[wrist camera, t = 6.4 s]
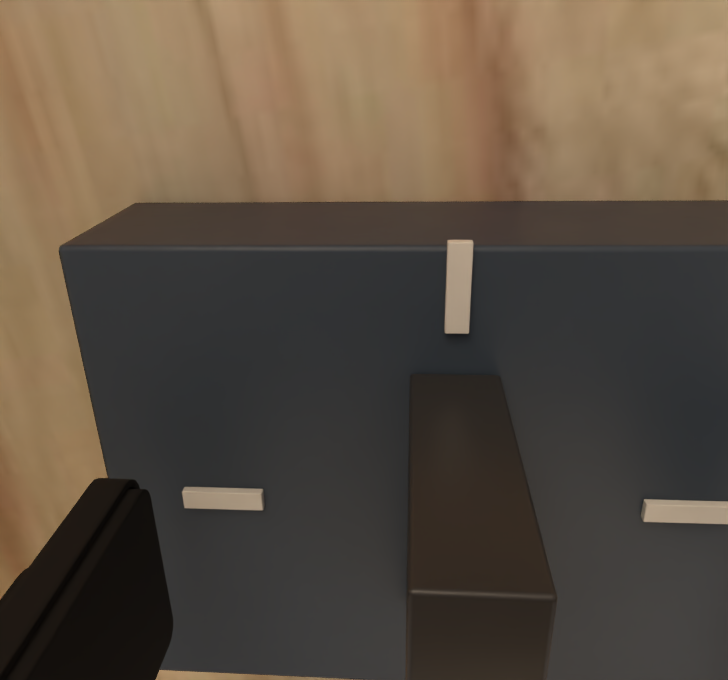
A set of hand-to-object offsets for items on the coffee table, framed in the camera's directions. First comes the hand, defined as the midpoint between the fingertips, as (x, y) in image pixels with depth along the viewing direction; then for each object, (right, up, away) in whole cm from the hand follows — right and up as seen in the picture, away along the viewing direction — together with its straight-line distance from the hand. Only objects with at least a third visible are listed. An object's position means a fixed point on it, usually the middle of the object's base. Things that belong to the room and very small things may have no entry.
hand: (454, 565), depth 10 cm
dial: (0, +1, +1) cm, 1 cm away
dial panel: (0, +2, +4) cm, 4 cm away
